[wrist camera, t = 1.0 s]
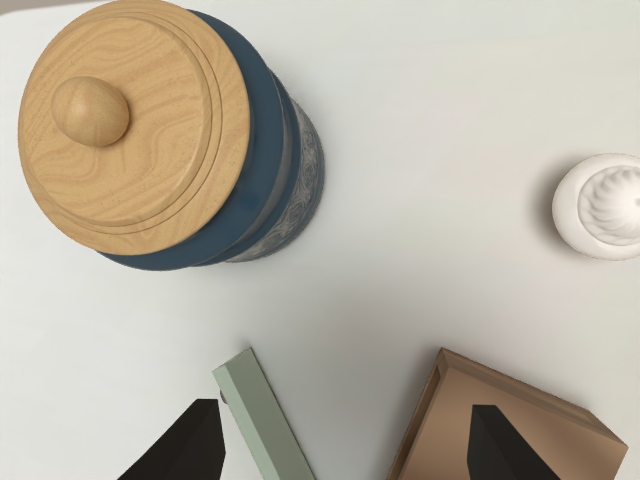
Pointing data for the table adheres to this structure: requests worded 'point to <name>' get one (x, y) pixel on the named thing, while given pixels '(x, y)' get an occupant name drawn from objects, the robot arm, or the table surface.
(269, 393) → the door
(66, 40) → the canister
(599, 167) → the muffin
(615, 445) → the cabinet
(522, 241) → the table surface
